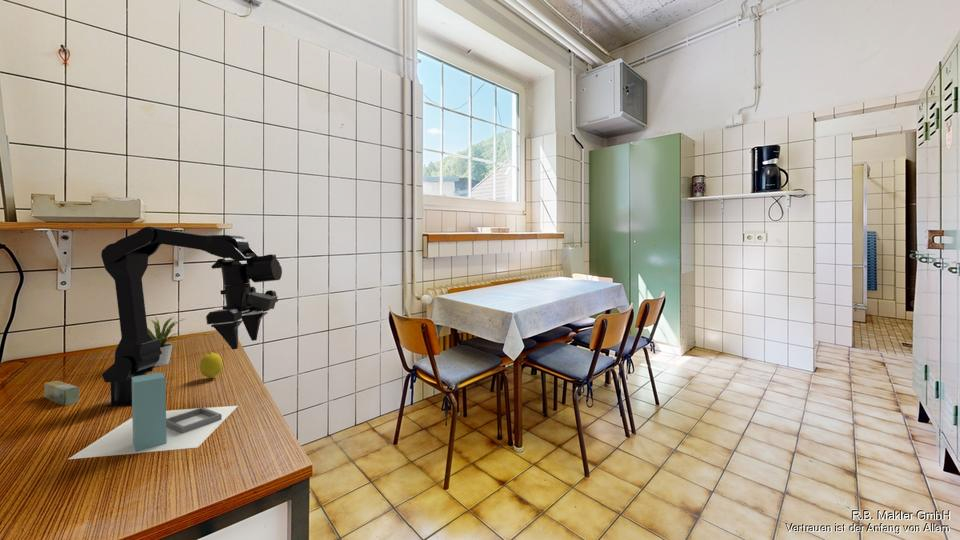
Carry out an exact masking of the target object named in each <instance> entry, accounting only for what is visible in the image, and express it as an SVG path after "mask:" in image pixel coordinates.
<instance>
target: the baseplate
mask: <svg viewBox="0 0 960 540" xmlns="http://www.w3.org/2000/svg"><path fill="white" fill-rule="evenodd" d="M205 408H206V409H209V410H212V411H214V412H217V413H220V414H222V420H219V421H216V422H213V423H210V424H208V425H205V426H202V427H199V428H197V429H194V430H191V431H188V432H185V433H183V434H181V433H179V432H177V431H174V430H172V429H170V428H168V427H166V439H167V443H166V444H162V445H159V446H155V447H152V448H148V449H145V450H141V451H137V452H136V451H135V448H134V445H133V422H132V417H130V418H129V419H127V420H126V421H125V422H123V423H122V424H120V425H118V426H116V427H115V428H114V429H112V430H110V431H109V432H108V433H106V434H104V435H103V436H101V437H100V438H98V439H96V440H95V441H93V442H92V443H91V444H89V445H87V446H86V447H84V448H83V449H81V450H80V451H78V452H77V453H76V454H74V455H72V456H70V457H69V458H67V460H76V459H87V458H98V457H99V458H101V457H108V456H110V457H111V456H121V455H132V454H133V455H135V454H141V453H143V454H144V453H154V452H164V451H166V452H167V451H176V450H184V449H185V450H187V449H196V448H197V449H198V448H199V447H200V446H201V444H203V443H204V442H205V441H206V440H207V438H208V437H209V436H211V434H212V433H213V432H214V431H215V430H216V429H217V428H218V427H219V426H221V424H222V423H223V422H224V421H225V420H226V419H227V418H228V417H229V416H230V415H232V413H233V412H234V410H236V409H237V408H238V405H230V406H213V407H205ZM195 409H199V407H198V408H186V409H185V408H184V409H183V408H182V409H170V410H166V419H167V418H170V417H174V416H177V415H180V414H183V413H186V412H189V411H192V410H195ZM206 418H209V417H208V416H206V415H203V414H199V415H196V416H193V417H190V418H187V419H184V420H181V421H178V422H175V423H177V424H179V425H182V426H186V425H188V424H191V423H194V422H197V421H200V420H203V419H206Z"/></svg>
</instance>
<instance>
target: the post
mask: <svg viewBox="0 0 960 540" xmlns="http://www.w3.org/2000/svg"><path fill="white" fill-rule="evenodd" d="M166 384H167V383H166V376H165V374H164V373H163V372H162V371H159V372H153V373H146V375H140V376H135V377H132V405H131V411H132V415H131V418H132V422H133V445H134V448H135V451H136V452H137V451H141V450H145V449H148V448H152V447H155V446H159V445H162V444H166V443H167V439H166V411H167V399H166V398H167V397H166V396H167V395H166V394H167V393H166V392H167V391H166V388H167V386H166Z"/></svg>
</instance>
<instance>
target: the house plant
mask: <svg viewBox="0 0 960 540" xmlns="http://www.w3.org/2000/svg"><path fill="white" fill-rule="evenodd" d="M173 318H175V316H173V317H169V318H168V319H167V320H166V321H165V322H164V324H163V326H162V329H161V326H160V322H159V319H158V318H157V317H155V319H156V321H155V320H154V319H153V320H152V319H150V318H147V316H146V319H149V321H151V323H152V324H153V326H154V327H153V328H154V332H155V334H154V333H153V332H152V331H151V330H150V328H149V327H147V329H148V334H149V336H150V337H151V338H152V339H153V340H156V339H159V340H160V350H161V352H162V354H161V355H160V359H159V361H158V362H157V363H156V364H155V365H154V367H155V368H156V367H162V366H166V365H168V364H170V360H171V355H172V348H173V344H172V343H169V342H167V341H168V340H171V339H175V338H179V339H180V337H179V336H175V335H181V334H180V333H173V334H172V335H170V336H169V334H171V332H172V331H173V330H174V329H173V328H174V326H176V324H178V323H179V322H183V321H184V320H186V318H182V319H180V320H178V321H176V320H174V321H172V320H173ZM171 321H172V322H171ZM170 322H171V323H170ZM169 323H170V325H169ZM168 325H169V326H168ZM168 336H169V337H168Z"/></svg>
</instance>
